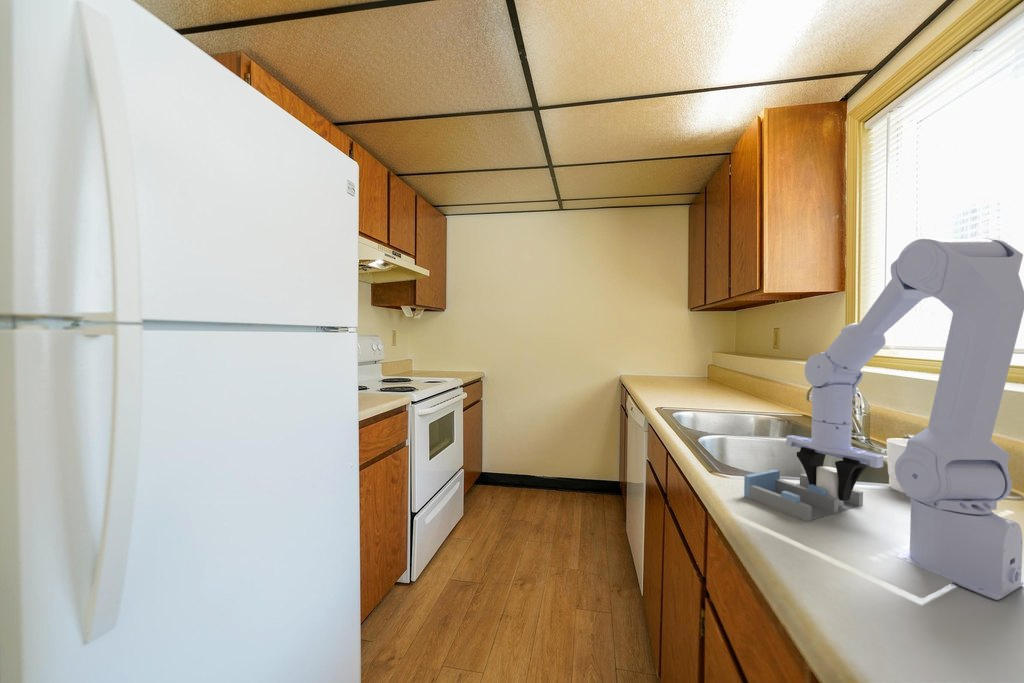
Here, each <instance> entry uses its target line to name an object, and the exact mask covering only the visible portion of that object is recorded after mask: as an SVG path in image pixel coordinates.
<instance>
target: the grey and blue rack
mask: <svg viewBox="0 0 1024 683" xmlns="http://www.w3.org/2000/svg"><path fill="white" fill-rule="evenodd" d="M780 476H781V475H780V470H777V469H770V470H769V469H768V470H765V471H760V472H754V473H750V474H746V475H744V476H743V477H744V478H743V480H744V482H743V483H744V484H743V485H744V486H743V487H744V488H743V491H744V492H743V497H744V498H745V499H746V498H747V499H749V500H752V501H754V502H757V503H759V504H761V505H764V506H766V507H769V508H771V509H774V510H777V511H779V512H781V513H784V514H786V515H789V516H792V517H794V518H796V519H799V520H801V521H804V522H806V523H808V522H812V521H814V520H815V521H816V520H818V519H822V518H824V517H828V516H831V515H836V514H838V513H841V512H844V511H848V510H851V509H854V508H855V509H856V508H857V507H861V506H864V501H863V500H864V491H861V490H858V489H856V488H853V490H852V493H851V496H850V500H846V501H844V506H843V507H838V501H839V499H838V498H835V497H832V496H829V495H827V489H825V488H822V487H819V486H816V485H813V484H811V485H809V481H808V478H807V475H806V473H801V474H799V483H796V484H795V483H792V482H790V481H787V480H784V479H780Z"/></svg>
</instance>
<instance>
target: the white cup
mask: <svg viewBox="0 0 1024 683" xmlns="http://www.w3.org/2000/svg"><path fill="white" fill-rule="evenodd" d="M909 439H910V438H900V437H899V438H897V437H892V438H891V437H890V438H889V437H888V438H887V439H886V454H887V455H886V456H887V457H886V458H887V462H886V463H887V473H888V487H889V488H891V489H892V490H895V491H898V493H899V492H900V493H903V494H906V492H905V491H904V490H903V489H902V487H901V486H900V484H899V483H898V481H897V478H896V475H895V463H896V461H897V459H898V458H899V457H900V456H901V455H902V454H903V453H904V451H905V449H906V446H907V441H908V440H909Z"/></svg>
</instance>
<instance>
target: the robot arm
mask: <svg viewBox="0 0 1024 683" xmlns="http://www.w3.org/2000/svg"><path fill="white" fill-rule="evenodd" d="M1023 258H1024V254H1023V253H1021V252H1020V251H1019V250H1018V249H1016V248H1014V247H1013V246H1012V245H1010V244H1008V243H1007V242H1006V241H1003V240H1001V239H998V238H983V239H953V238H952V239H950V238H949V239H945V238H944V239H942V238H941V239H940V238H939V239H937V238H933V237H932V238H931V237H924V238H919V239H918V238H917V239H915V240H913V241H912V242H910V243H908V244H907V245H906V246H905V247H904V248H903V249H902V250H901V252H900V253H899V256H898V258H896V260H894V262H892V263H891V265H890V275H891V279H890V280H889V282H888V283H887V285H886V286H885V287H884V289H883V290H882V292H881V293H880V294H879V296H878V297H877V298H876V299H875V301H874V303H872V305H871V306H870V308H869V310H868V311H867V312H866V314H865V315H864V316H863V317H862V319H861V320H860V322H854V323H849V324H847V325H845V326H844V327H842V329H841V330H840V333H839V335H837V336H836V338H835V339H834V340H833V341H832V343H831V344H829V346H828V347H827V348H826V350H825V351H821V352H819V353H818V354H812V355H810V356H809V357H808V359H807V361H806V362H805V365H804V377H805V379H806V381H807V382H808V383H809V384H810V385H811V386H812V387H811V388H812V391H811V401H812V402H811V431H810V432H811V438H810V437H804V436H798V435H786V436H785V438H786V442H785V443H786V445H785V446H786V447H791V448H792V447H795V448H798V449H800V450H799V451H797V452H796V457H797V458H798V460H799V462H800V463H801V466H802V467H803V469H804V472H805V474H806V475H807V478H808V481H809V485H811V484H813V485H816V468H817V467H819V466H824V463H825V459H826V458H825V457H826V456H830V457H835V458H838V459H841V460H837V461H835V462H834V465H835V468H836V469H837V474H838V481H839V485H838V497H839V500H841V501H846V500H850V496H851V493H852V490H853V489H854V487H855V486H856V483H857V481H858V480H859V478H860V477H861V475H862V474H863V472H864V471H865V470H866V469H867V468H868V466H869V467H870V468H875V469H879V468H883V467H884V455H883V454H879V453H876V452H875V453H873V452H870V451H867V450H866V449H865V450H864V449H861V448H858V447H854V446H852V432H853V431H852V430H853V428H852V427H853V423H852V422H853V398H854V397H855V395H857V387H858V385H859V384H860V383H861V381H862V379H863V375H864V373H863V371H862V369H863V368H864V367H865V366H866V364H868V363H869V362H870V360H871V359H873V358H874V357H875V355H877V353H878V352H879V351H881V349H882V348H884V346H885V345H886V342H887V341H886V337H885V333H886V332H887V331H889V330H890V329H891V328H892V327H893V326H894V325H896V323H898V322H899V321H900V320H901V319H902V318H904V316H905V315H906V314H907V313H909V312H910V311H911V310H912V309H913V308H914V307H916V306H917V305H918V304H919V303H920V302H921V301H922V300H924V299H928V298H935V299H937V300H939V301H940V302H941V303H942V304H943V305H944V306H946V307H947V308H948V309H949V310H950V311H951V312H952V316H951V322H950V326H949V330H948V335H947V340H946V344H945V347H944V348H945V349H944V353H943V359H942V362H941V367H940V372H939V376H938V380H937V385H936V389H935V394H934V399H933V404H932V407H931V412H930V416H929V421H928V426H926V427H925V428H924V429H923V430H921V431H920V432H918V433H916V434H915V435H914V436H912V437H910V438H908V439H909V440H908V441H907V446H906V449H905V451H904V453H903V454H902V455H901V456H900V457H899V458H898V459H897V461H896V463H895V475H896V478H897V481H898V483H899V484H900V486H901V487H902V489H903V490H904V491H905V492H906V493H905V496H906V497H909V498H910V522H909V523H910V524H909V525H910V526H909V549H908V550H905V551H903V552H900V553H897V554H896V555H895V558H897V559H900V560H902V561H905V562H907V563H910V564H912V565H914V566H917V567H919V568H922V569H924V570H927V571H930V572H931V573H935V574H937V575H939V576H942V577H944V578H947V579H949V580H952V581H953V582H952V583H953V584H956V585H958V586H961V587H963V588H964V589H967V590H970V591H971V592H972V591H973V592H975V593H978V594H979V595H983V596H985V597H987V598H990V599H992V600H996V601H998V600H1001V599H1003V598H1005V597H1006V596H1008V595H1009V594H1011V593H1012V592H1014V591H1015V590H1017V589H1018V588H1020V587H1022V586H1023V585H1024V581H1023V580H1022V566H1023V564H1022V563H1023V530H1022V527H1021V524H1019V523H1018V522H1017V521H1014V520H1011V519H1009V518H1005V517H1003V516H1001V515H998V514H996V513H994V512H993V511H996V510H997V508H998V507H997V505H998V504H997V503H998V502H1001V501H1003V500H1005V499H1006V498H1008V497H1009V495H1010V494H1011V492H1012V489H1013V481H1012V477H1011V475H1010V471H1009V461H1010V454H1009V453H1008V452H1007V450H1005V449H1004V448H1002V447H1001V446H999V445H998V444H997V443H996V442H995V441H994V440H992V438H993V433H994V430H995V426H996V421H997V418H998V414H999V410H1000V406H1001V403H1002V402H1001V401H1002V398H1003V396H1004V395H1003V394H1004V390H1005V387H1006V383H1007V379H1008V375H1009V371H1010V366H1011V362H1012V359H1013V354H1014V351H1015V347H1016V343H1017V338H1018V335H1019V333H1020V332H1019V331H1020V327H1021V324H1022V319H1023V314H1024V287H1023V283H1022V280H1021V277H1020V275H1019V272H1020V269H1021V264H1022V261H1023Z"/></svg>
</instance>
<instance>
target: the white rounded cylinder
mask: <svg viewBox="0 0 1024 683" xmlns="http://www.w3.org/2000/svg"><path fill="white" fill-rule="evenodd" d="M838 485H839V481H838V474H837V469H836V467H832V466H824V465H823V466H819V467H817V468H816V486H819V487H822V488H825V489H827V495H829V496H832V497H835V498H838V499H839V497H838ZM843 506H844V501H841V500H839V501H838V507H843Z"/></svg>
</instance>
